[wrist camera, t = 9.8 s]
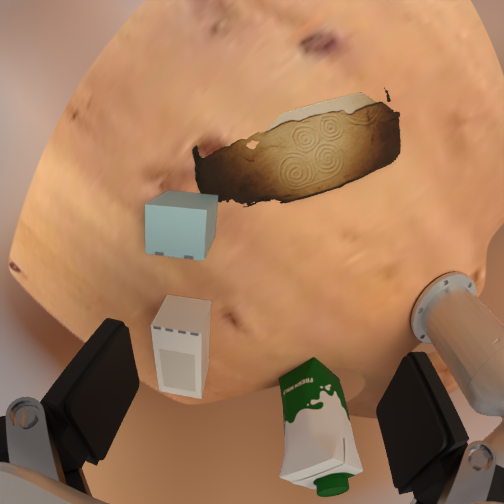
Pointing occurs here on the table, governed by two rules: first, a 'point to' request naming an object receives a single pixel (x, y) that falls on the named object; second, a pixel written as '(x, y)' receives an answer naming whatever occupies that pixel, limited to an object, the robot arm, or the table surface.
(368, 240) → the table surface
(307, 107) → the parchment
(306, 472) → the milk carton
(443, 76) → the table surface
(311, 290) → the table surface
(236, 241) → the table surface
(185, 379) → the block
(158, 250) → the stub
